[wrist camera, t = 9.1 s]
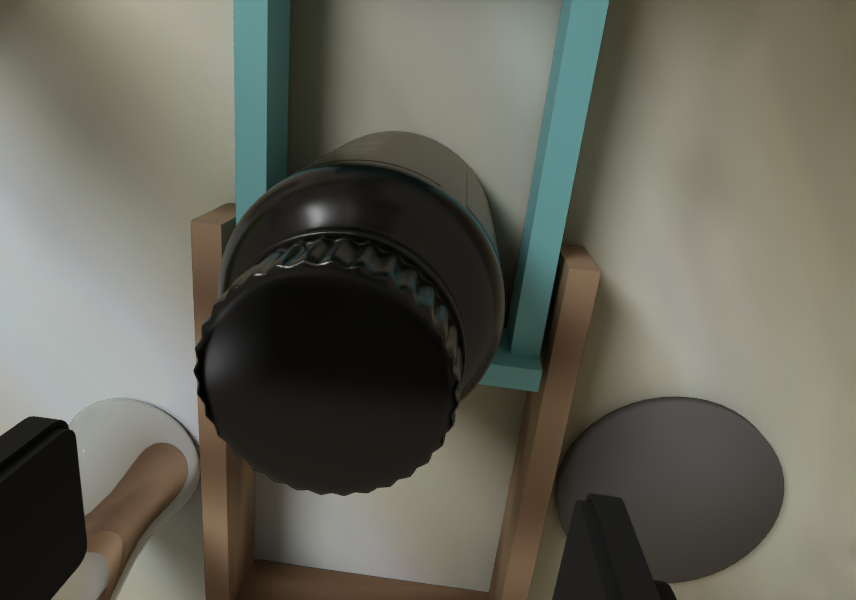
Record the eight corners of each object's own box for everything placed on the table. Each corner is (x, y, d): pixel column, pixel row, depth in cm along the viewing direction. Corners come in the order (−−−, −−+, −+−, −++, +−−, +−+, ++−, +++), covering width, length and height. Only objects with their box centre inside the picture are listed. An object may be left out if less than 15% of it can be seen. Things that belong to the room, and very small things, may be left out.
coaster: (578, 382, 23) (581, 390, 22) (808, 413, 23) (816, 421, 22) (538, 557, 26) (540, 567, 26) (739, 585, 26) (745, 596, 25)
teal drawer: (260, -209, 17) (194, -299, 13) (627, -172, 16) (676, -252, 12) (258, 315, 23) (213, 364, 19) (529, 350, 22) (541, 407, 18)
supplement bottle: (301, 295, 23) (130, 506, 11) (316, 114, 20) (118, 153, 9) (474, 326, 22) (476, 569, 11) (511, 147, 20) (560, 229, 9)
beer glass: (243, 472, 26) (-35, 940, 12) (142, 542, 28) (-200, 1016, 14) (127, 358, 24) (-358, 743, 10) (28, 441, 26) (-494, 861, 12)
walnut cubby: (227, 203, 21) (190, 221, 19) (583, 246, 21) (601, 272, 18) (233, 572, 28) (207, 627, 25) (507, 611, 27) (510, 671, 25)
